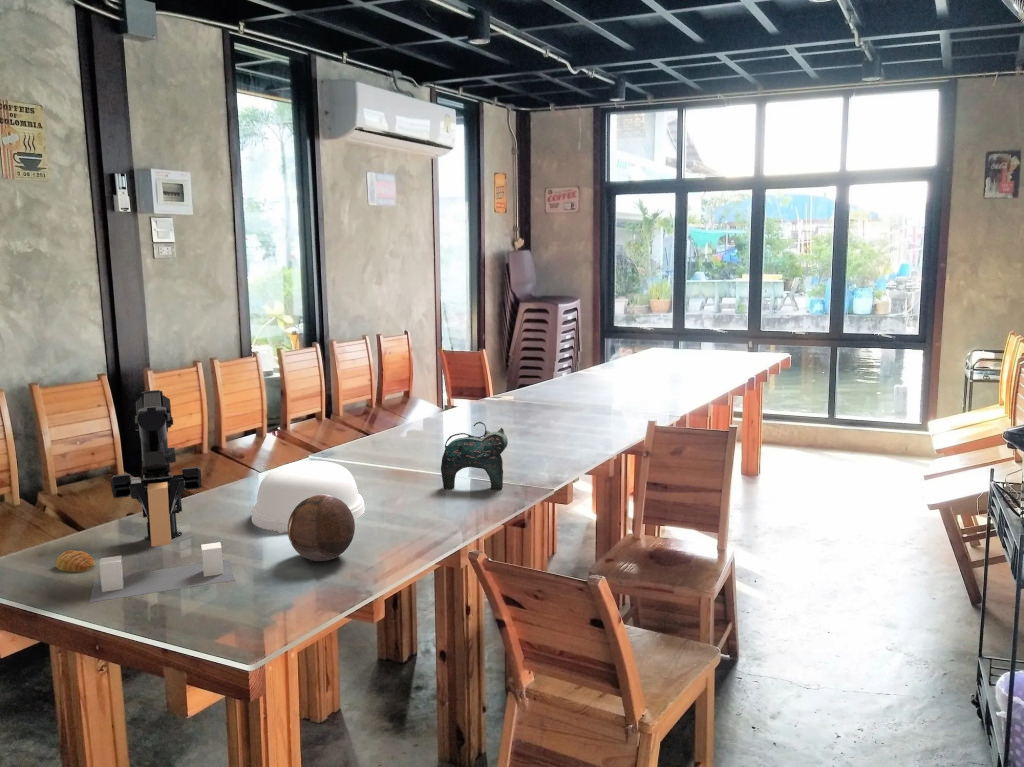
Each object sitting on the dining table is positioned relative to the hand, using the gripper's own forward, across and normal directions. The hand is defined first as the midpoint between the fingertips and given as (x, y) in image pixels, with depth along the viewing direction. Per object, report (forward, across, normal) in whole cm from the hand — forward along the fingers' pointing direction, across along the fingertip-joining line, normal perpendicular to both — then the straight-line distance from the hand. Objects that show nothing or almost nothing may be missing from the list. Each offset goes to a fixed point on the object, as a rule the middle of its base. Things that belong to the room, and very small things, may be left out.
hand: (159, 514), depth 189 cm
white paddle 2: (+14, +10, +4) cm, 18 cm away
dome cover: (-11, +37, +31) cm, 49 cm away
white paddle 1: (+14, -10, +4) cm, 18 cm away
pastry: (+2, -18, +17) cm, 25 cm away
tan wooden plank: (+4, 0, +6) cm, 7 cm away
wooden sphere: (+15, +34, +4) cm, 37 cm away
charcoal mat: (+14, 0, +4) cm, 15 cm away
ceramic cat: (-15, +86, +34) cm, 94 cm away
